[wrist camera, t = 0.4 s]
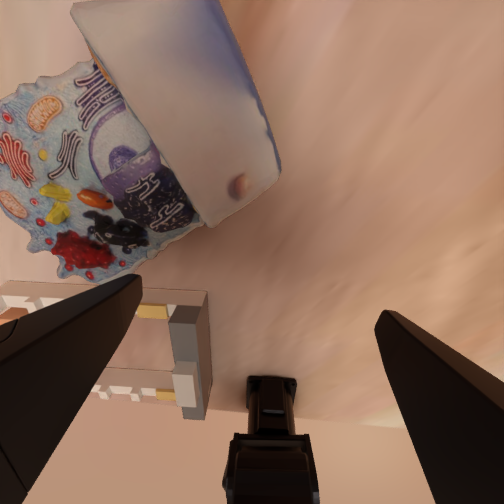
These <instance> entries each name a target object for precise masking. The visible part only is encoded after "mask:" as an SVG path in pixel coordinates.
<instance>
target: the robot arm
mask: <svg viewBox="0 0 504 504" xmlns="http://www.w3.org/2000/svg"><path fill="white" fill-rule="evenodd" d="M142 297H143V288H142V278H141V276H140V275H137V274H126V275H124V276H121V277H119V278H116V279H114V280H111V281H109V282H106V283H104V284H101V285H99V286H96V287H94V288H91V289H89V290H86V291H84V292H81V293H79V294H76V295H74V296H71V297H69V298H66V299H64V300H61V301H59V302H56V303H54V304H51V305H49V306H46V307H44V308H41V309H39V310H37V311H34V312H32V313H29V314H27V315H24V316H22V317H20V318H19V319H14V320H11V321H9V322H7V323H4V324H2V325H0V504H22V502H23V501H24V499H25V498H26V496H27V495H28V493H27V492H29V491H30V489H31V488H32V486H33V484H34V483H35V481H36V479H37V478H38V476H39V475H40V473H41V471H42V470H43V468H44V467H45V465H46V463H47V462H48V460H49V458H50V457H51V455H52V453H53V452H54V450H55V448H56V447H57V445H58V444H59V442H60V440H61V439H62V437H63V435H64V434H65V432H66V431H67V429H68V427H69V426H70V424H71V422H72V421H73V419H74V417H75V416H76V414H77V413H78V411H79V409H80V408H81V406H82V404H83V403H84V401H85V400H86V398H87V396H88V395H89V393H90V392H91V390H92V388H93V387H94V385H95V383H96V382H97V380H98V379H99V377H100V375H101V374H102V372H103V370H104V369H105V367H106V366H107V364H108V362H109V361H110V359H111V357H112V356H113V354H114V352H115V351H116V349H117V348H118V346H119V344H120V343H121V341H122V339H123V338H124V336H125V334H126V332H127V330H128V328H129V326H130V324H131V321H132V319H133V317H134V315H135V313H136V311H137V309H138V306H139V304H140V302H141V300H142ZM374 331H375V336H376V339H377V343H378V347H379V351H380V354H381V358H382V362H383V365H384V369H385V372H386V375H387V377H388V380H389V383H390V385H391V388H392V391H393V393H394V396H395V398H396V401H397V404H398V406H399V409H400V411H401V414H402V417H403V419H404V422H405V425H406V427H407V430H408V432H409V435H410V437H411V440H412V443H413V445H414V448H415V451H416V453H417V456H418V458H419V461H420V463H421V466H422V469H423V472H424V474H425V477H426V479H427V482H428V484H429V487H430V490H431V492H432V495H433V498H434V500H435V503H436V504H504V382H502V381H501V380H499V379H498V378H496V377H495V376H493V375H492V374H490V373H489V372H487V371H486V370H484V369H483V368H481V367H480V366H478V365H477V364H475V363H474V362H472V361H470V360H469V359H467V358H466V357H464V356H463V355H461V354H460V353H458V352H457V351H455V350H454V349H452V348H451V347H449V346H448V345H446V344H445V343H443V342H442V341H440V340H439V339H437V338H436V337H434V336H433V335H431V334H430V333H428V332H427V331H425V330H424V329H422V328H421V327H419V326H418V325H416V324H415V323H413V322H411V321H410V320H408V319H407V318H405V317H404V316H402V315H401V314H399V313H398V312H396V311H392V310H383V311H382V312H381V314H380V316H379V319H378V321H377V323H376V325H375V329H374ZM296 387H297V382H296V380H295V379H283V378H266V377H248V379H247V401H246V408H247V409H249V416H248V434H239V433H234V438H233V440H232V441H230V447H229V455H228V461H227V465H226V469H225V472H224V476H223V481H222V486H223V488H224V490H225V491H226V498H227V504H320V500H319V489H318V480H317V473H316V468H315V462H314V458H313V453H312V448H311V442H310V437H309V434H304V435H296V434H295V424H294V414H293V403H294V398H295V392H296Z"/></svg>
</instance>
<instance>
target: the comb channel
mask: <svg viewBox="0 0 504 504" xmlns="http://www.w3.org/2000/svg"><path fill="white" fill-rule="evenodd" d="M96 286H97V285H78V284H60V283H41V282H22V281H9V282H7V283H5V284H4V285H2V286H0V312H1V311H3V310H4V309H5V308H7V307H18V308H27V310H28V312H29V313H32V312H34V311H37V310H39V309H41V308H44V307H46V306H49V305H51V304H54V303H56V302H59V301H61V300H64V299H66V298H69V297H71V296H74V295H76V294H79V293H81V292H84V291H86V290H89V289H91V288H94V287H96ZM135 314H138V317H140V318H158V319H168V317H169V316H171V318H170V320H169V322H168V325H169V331H170V337H171V343H172V350H173V356H174V362H175V367H174V369H173V372H171V371H155V370H139V369H122V368H106V367H105V369H104V370H103V372H102V374H101V375H100V377H99V379H98V380H97V382H96V383H95V385H94V387H93V388H92V390H91V392H98V393H99V395H100V398H101V399H109V398H110V396H111V394H112V393H116V394H130V395H131V399H132V401H140V400H141V398H142V396H143V395H147V396H156V397H157V400H172V401H176V402H177V406H181V407H182V412H183V418H184V419H192V420H205V415H206V411H207V406H208V401H209V396H210V391H211V386H212V365H211V349H210V333H209V316H208V300H207V291H191V290H172V289H153V288H143V297H142V300H141V302H140V304H139V306H138V309H137V311H136V313H135Z"/></svg>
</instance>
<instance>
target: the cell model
mask: <svg viewBox="0 0 504 504" xmlns="http://www.w3.org/2000/svg"><path fill="white" fill-rule="evenodd" d="M70 14H71V16H72V19H73V20H74V22H75V23H76V25H77V27H78V28H79V30H80V31H81V33H82V35H83V36H84V38H85V41H86V43H87V45H88V48H89V50H90V53H91V55H92V57H93V58H92V59H91V60H90V61H87V62H78V63H76V64H75V65H74V66H73V67H71V68H70V69H69V70H67V71H66V72H64V73H62V74H61V75H58V76H54V77H50V76H40V77H38V78H37V80H36V82H35V83H23V84H19V86H18V88H17V90H16V92H15V93H12V94H10V95H8V96H7V97H5V98H3V99H1V100H0V207H1V208H2V210H3V212H4V213H5V215H6V216H7V217H9V218H10V219H11V220H13V221H14V222H15V223H17V224H18V225H20V226H21V227H22V228H24V229H25V230H27V231H28V232H29V233H30V235H31V238H32V239H31V241H30V242H29V243H28V245H27V250H28V251H29V252H31V253H37V252H41V251H44V250H46V251H50V252H51V253H52V254H53V255H56V256H57V257H58V258H59V262H60V265H59V267H58V269H57V276H58V277H59V278H61V279H65V278H68V277H70V276H72V275H79V276H81V277H83V278H84V279H86V280H87V281H89V282H92V283H97V284H100V285H101V284H104V283H106V282H109V281H111V280H114V279H116V278H119V277H121V276H124V275H126V274H132V273H133V272H134V271H135V270H136V269H137V268H138V267H139V266H140V265H141V264H142V263H143V262H145V261H146V260H147V259H153V258H154V257H156V256H157V254H158V252H159V251H163V250H164V249H165V248H166V247H167V245H168V244H169V243H171V242H173V241H177V240H179V239H181V238H183V237H184V236H185V235H187V234H188V233H189V232H191V231H192V230H193V229H195V228H197V227H202V226H203V225H204V224H205V225H206V226H208V227H209V228H215V227H217V226H218V225H219V224H220V222H221V221H222V220H223V219H225V218H227V217H229V216H230V215H232V214H234V213H235V212H237V211H239V210H240V209H242V208H243V207H245V206H246V205H248V204H249V203H251V202H252V201H253V200H255V199H256V198H258V197H259V196H260V194H262V193H263V192H265V191H266V190H268V189H269V188H270V187H271V186H272V185H273V184H274V183H275V182H276V181H277V180H278V179H279V176H280V173H281V160H280V157H279V154H278V150H277V147H276V144H275V141H274V137H273V134H272V131H271V128H270V125H269V122H268V119H267V117H266V114H265V111H264V108H263V105H262V103H261V100H260V97H259V95H258V92H257V90H256V87H255V84H254V82H253V79H252V77H251V74H250V72H249V69H248V67H247V64H246V62H245V59H244V57H243V54H242V52H241V49H240V46H239V44H238V42H237V40H236V38H235V36H234V34H233V31H232V29H231V27H230V25H229V23H228V20H227V18H226V16H225V13H224V11H223V9H222V6H221V4H220V2H219V0H93V1H85V2H78V3H73V6H72V8H71V10H70Z"/></svg>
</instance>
